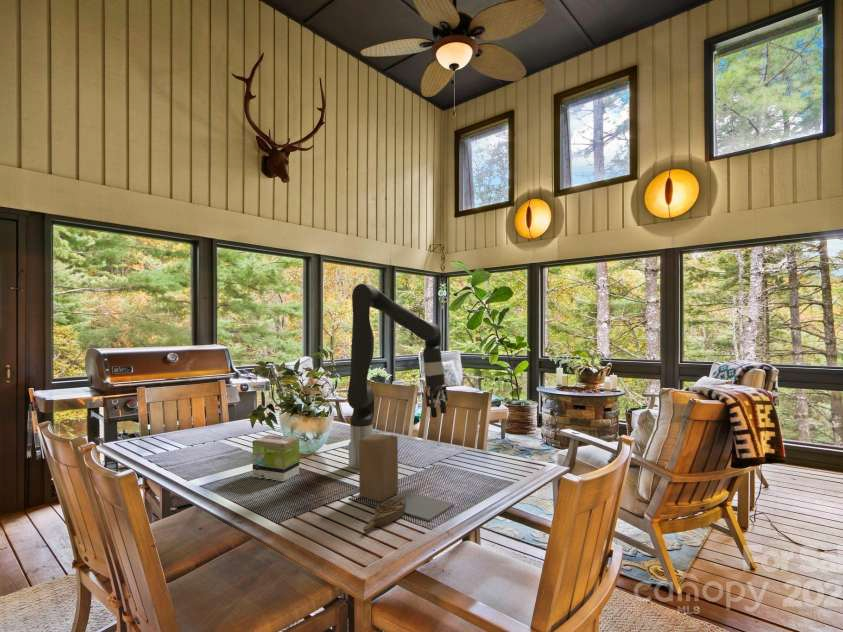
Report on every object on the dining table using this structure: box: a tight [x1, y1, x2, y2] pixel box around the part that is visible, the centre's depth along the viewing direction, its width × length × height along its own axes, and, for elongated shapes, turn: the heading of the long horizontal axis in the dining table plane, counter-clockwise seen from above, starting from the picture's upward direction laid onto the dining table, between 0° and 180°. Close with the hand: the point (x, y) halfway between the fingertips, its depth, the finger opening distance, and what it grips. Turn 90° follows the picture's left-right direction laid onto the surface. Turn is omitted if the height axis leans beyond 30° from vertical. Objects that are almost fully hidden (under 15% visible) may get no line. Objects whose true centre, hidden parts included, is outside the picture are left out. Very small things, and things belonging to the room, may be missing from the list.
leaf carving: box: [362, 497, 406, 533], centre depth 136 cm, size 7×22×3 cm, turn 154°
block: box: [358, 432, 399, 503], centre depth 155 cm, size 10×10×20 cm
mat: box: [378, 490, 455, 522], centre depth 146 cm, size 20×14×1 cm
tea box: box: [252, 434, 300, 481], centre depth 176 cm, size 15×10×15 cm
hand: (439, 415), depth 176 cm, fingers open, 8 cm apart
